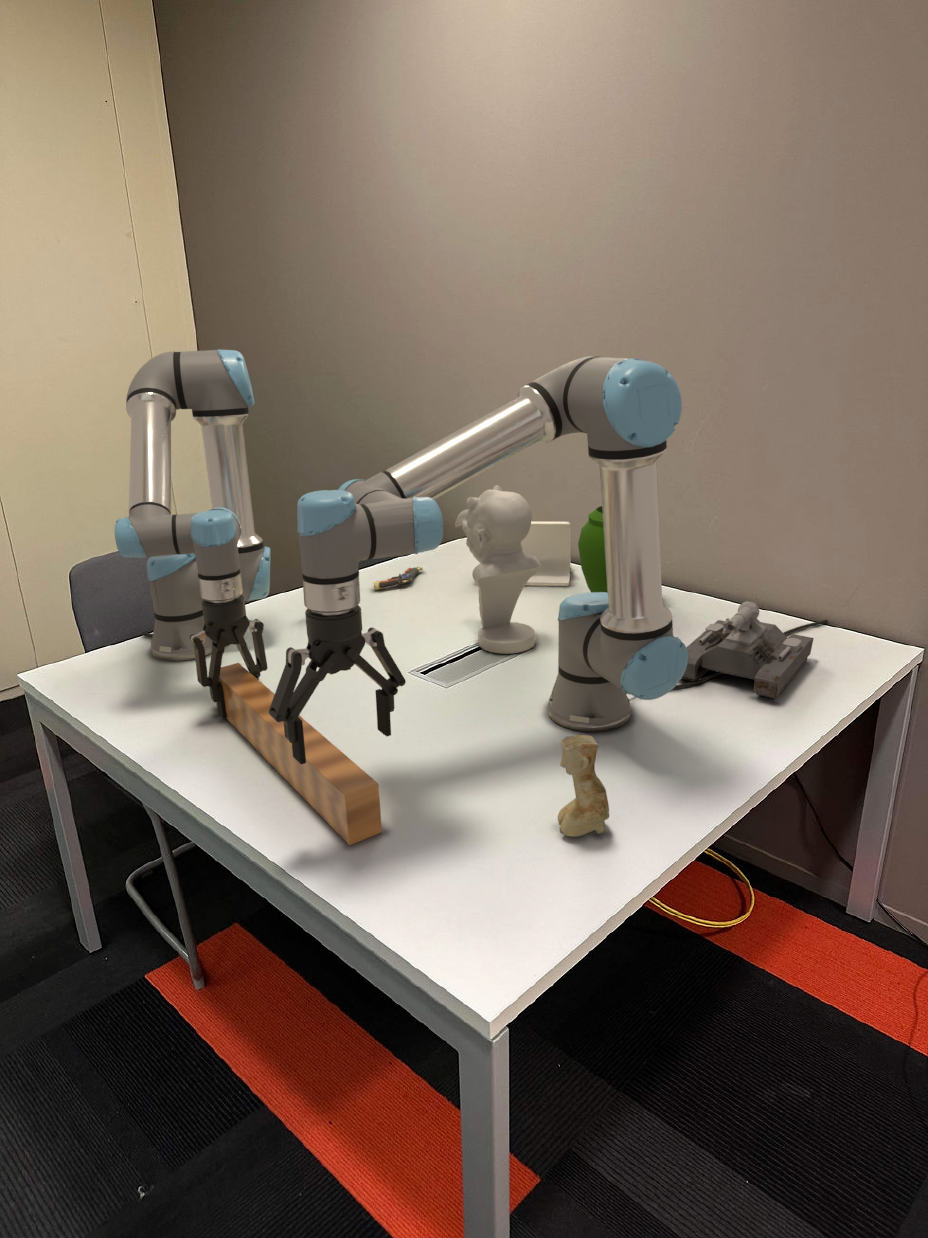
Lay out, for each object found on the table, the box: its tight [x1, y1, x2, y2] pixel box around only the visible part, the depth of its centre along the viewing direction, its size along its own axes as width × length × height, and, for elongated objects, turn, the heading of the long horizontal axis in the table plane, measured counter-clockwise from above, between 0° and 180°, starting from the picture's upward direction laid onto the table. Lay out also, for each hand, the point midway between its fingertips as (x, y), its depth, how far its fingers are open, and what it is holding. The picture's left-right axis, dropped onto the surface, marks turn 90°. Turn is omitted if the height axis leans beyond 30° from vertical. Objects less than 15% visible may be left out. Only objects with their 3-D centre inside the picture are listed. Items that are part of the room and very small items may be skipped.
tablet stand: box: [520, 520, 572, 587], centre depth 236 cm, size 18×25×17 cm
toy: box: [681, 600, 814, 700], centre depth 172 cm, size 25×20×15 cm
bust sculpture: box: [454, 485, 542, 655], centre depth 190 cm, size 16×24×35 cm, turn 28°
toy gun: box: [373, 566, 424, 591], centre depth 237 cm, size 3×19×10 cm
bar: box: [215, 662, 383, 846], centre depth 144 cm, size 55×5×8 cm, turn 35°
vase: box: [577, 505, 608, 593], centre depth 210 cm, size 20×20×24 cm
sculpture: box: [557, 734, 610, 838], centre depth 122 cm, size 6×7×15 cm
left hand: (238, 710), depth 164 cm, fingers closed on bar, 5 cm apart
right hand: (343, 746), depth 123 cm, fingers open, 13 cm apart
